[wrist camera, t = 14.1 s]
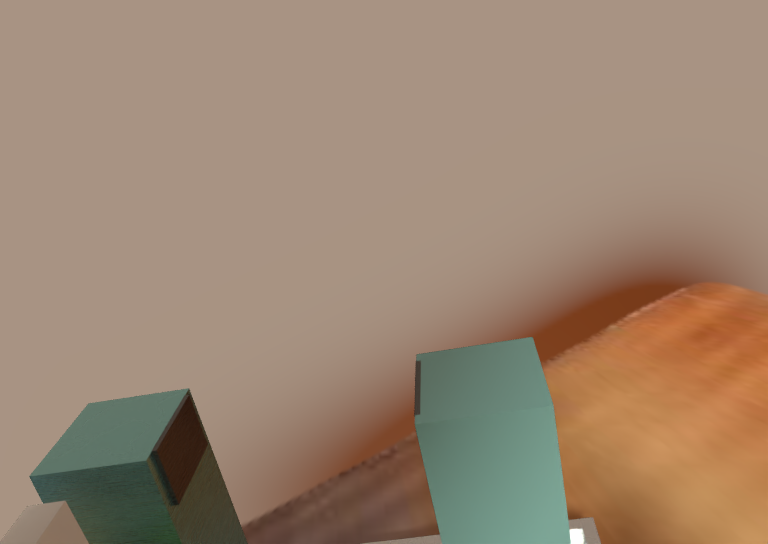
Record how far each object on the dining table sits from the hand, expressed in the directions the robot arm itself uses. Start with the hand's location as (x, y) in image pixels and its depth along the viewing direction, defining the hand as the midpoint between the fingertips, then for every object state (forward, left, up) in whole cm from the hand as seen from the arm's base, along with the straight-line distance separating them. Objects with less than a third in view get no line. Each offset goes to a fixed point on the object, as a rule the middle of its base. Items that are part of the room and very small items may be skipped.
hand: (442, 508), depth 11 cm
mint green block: (-1, -12, -17) cm, 20 cm away
